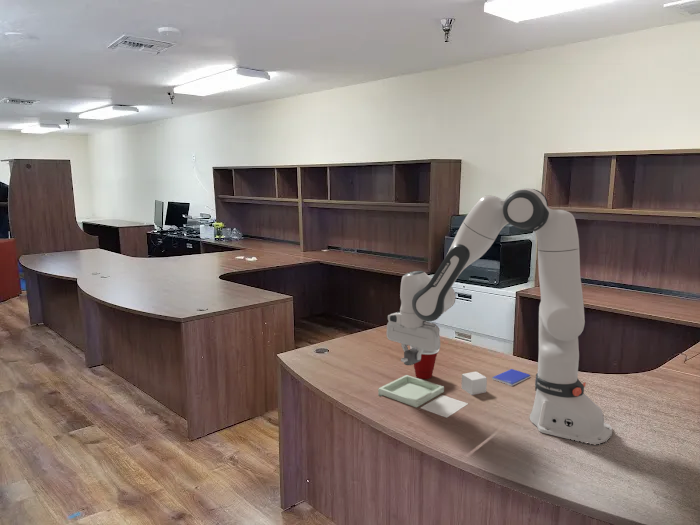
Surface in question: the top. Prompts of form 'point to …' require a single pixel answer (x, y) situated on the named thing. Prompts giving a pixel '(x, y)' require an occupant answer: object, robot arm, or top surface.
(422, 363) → the plastic cup
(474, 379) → the white cube
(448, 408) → the mat
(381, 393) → the tray
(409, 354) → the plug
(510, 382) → the hard drive
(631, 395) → the top surface
